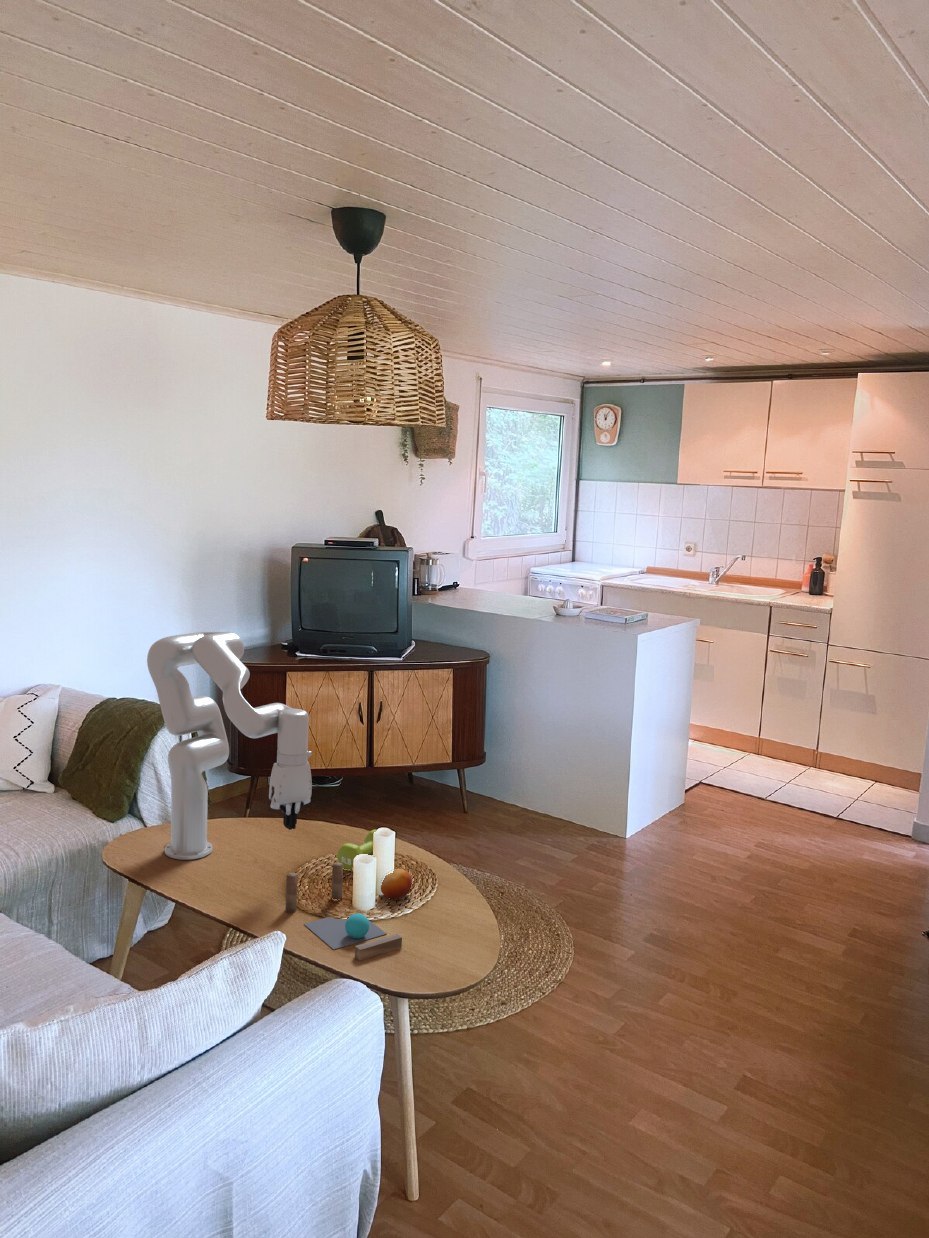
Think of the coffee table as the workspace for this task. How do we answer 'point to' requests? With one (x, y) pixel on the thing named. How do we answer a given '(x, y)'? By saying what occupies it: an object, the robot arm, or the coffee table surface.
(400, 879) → the fruit
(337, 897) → the post
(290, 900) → the post
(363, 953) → the strip
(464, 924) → the coffee table surface
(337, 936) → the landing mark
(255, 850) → the coffee table surface
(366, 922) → the ball
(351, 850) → the dumbbell
